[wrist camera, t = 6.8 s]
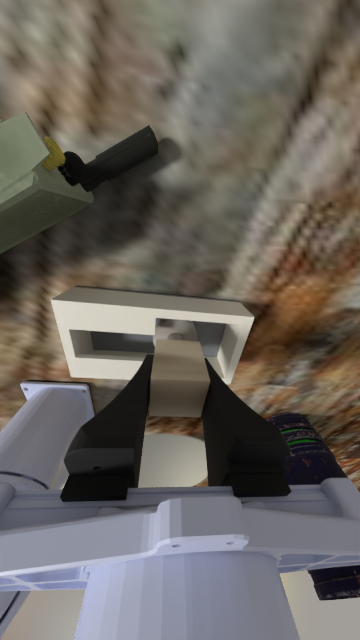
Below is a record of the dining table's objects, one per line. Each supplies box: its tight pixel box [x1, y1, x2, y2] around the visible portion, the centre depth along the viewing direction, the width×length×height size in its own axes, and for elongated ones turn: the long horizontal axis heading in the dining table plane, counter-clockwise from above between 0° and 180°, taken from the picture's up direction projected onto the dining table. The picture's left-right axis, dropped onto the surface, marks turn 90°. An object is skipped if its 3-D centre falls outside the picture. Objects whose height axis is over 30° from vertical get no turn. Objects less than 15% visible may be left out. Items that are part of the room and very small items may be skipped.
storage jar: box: [265, 413, 360, 600], centre depth 22 cm, size 10×10×15 cm
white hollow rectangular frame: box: [51, 286, 255, 384], centre depth 16 cm, size 16×8×4 cm, turn 83°
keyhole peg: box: [149, 318, 210, 417], centre depth 14 cm, size 4×4×8 cm
